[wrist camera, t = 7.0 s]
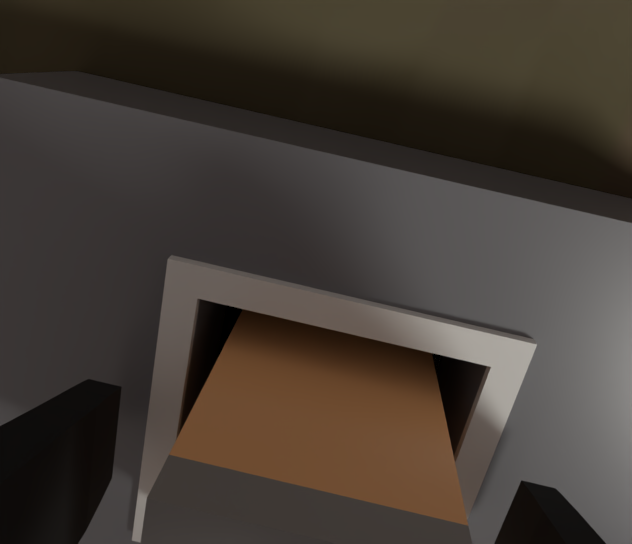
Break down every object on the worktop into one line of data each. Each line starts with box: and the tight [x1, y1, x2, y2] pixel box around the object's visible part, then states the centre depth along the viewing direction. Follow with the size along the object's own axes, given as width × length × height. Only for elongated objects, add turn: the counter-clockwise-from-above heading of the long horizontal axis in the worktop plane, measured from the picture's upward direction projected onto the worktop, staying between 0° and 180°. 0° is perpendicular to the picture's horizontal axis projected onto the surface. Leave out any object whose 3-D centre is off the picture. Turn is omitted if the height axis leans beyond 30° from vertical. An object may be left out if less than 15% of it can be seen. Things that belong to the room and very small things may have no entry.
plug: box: [140, 309, 472, 544], centre depth 11 cm, size 4×4×7 cm
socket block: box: [0, 71, 632, 544], centre depth 12 cm, size 13×11×3 cm
